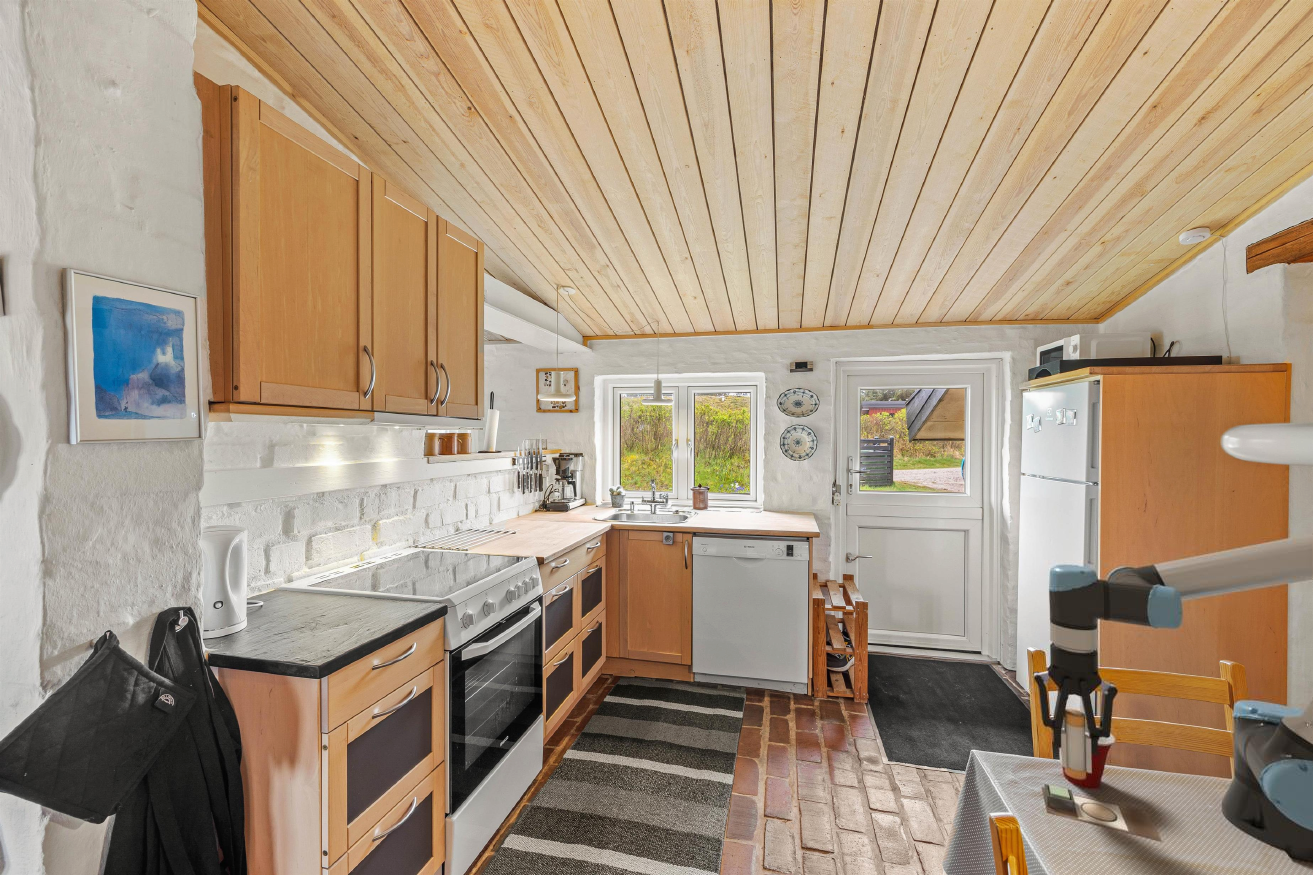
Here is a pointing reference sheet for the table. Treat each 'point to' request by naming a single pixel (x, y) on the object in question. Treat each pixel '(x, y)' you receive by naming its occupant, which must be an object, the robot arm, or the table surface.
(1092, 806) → the board
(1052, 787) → the button
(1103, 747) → the plastic cup
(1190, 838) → the table surface
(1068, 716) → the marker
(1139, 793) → the table surface
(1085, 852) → the table surface
